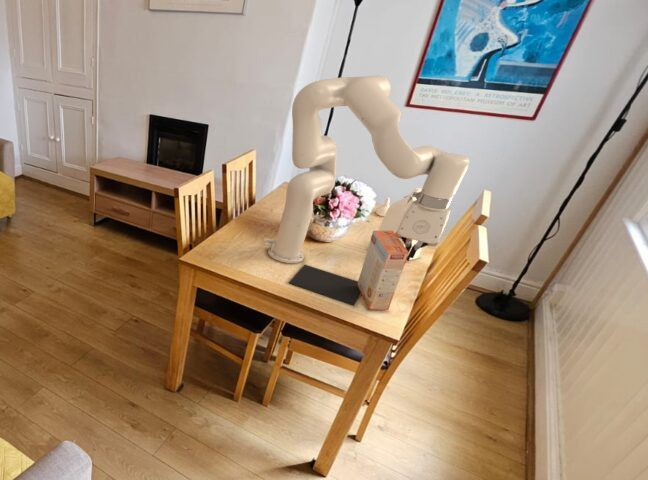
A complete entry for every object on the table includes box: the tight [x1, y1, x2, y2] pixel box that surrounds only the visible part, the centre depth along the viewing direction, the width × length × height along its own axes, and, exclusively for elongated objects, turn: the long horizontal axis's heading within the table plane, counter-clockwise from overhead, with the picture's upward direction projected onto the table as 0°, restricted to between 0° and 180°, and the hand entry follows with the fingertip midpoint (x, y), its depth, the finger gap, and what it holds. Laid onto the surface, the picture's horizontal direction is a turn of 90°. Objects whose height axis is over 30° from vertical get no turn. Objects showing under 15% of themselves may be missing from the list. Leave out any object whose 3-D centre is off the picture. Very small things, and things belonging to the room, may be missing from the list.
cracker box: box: [357, 230, 409, 311], centre depth 139 cm, size 14×6×21 cm, turn 168°
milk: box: [377, 186, 423, 262], centre depth 163 cm, size 12×12×26 cm
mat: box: [288, 264, 362, 307], centre depth 152 cm, size 20×16×1 cm
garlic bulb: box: [375, 196, 391, 218], centre depth 198 cm, size 6×6×8 cm
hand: (406, 258), depth 134 cm, fingers closed
